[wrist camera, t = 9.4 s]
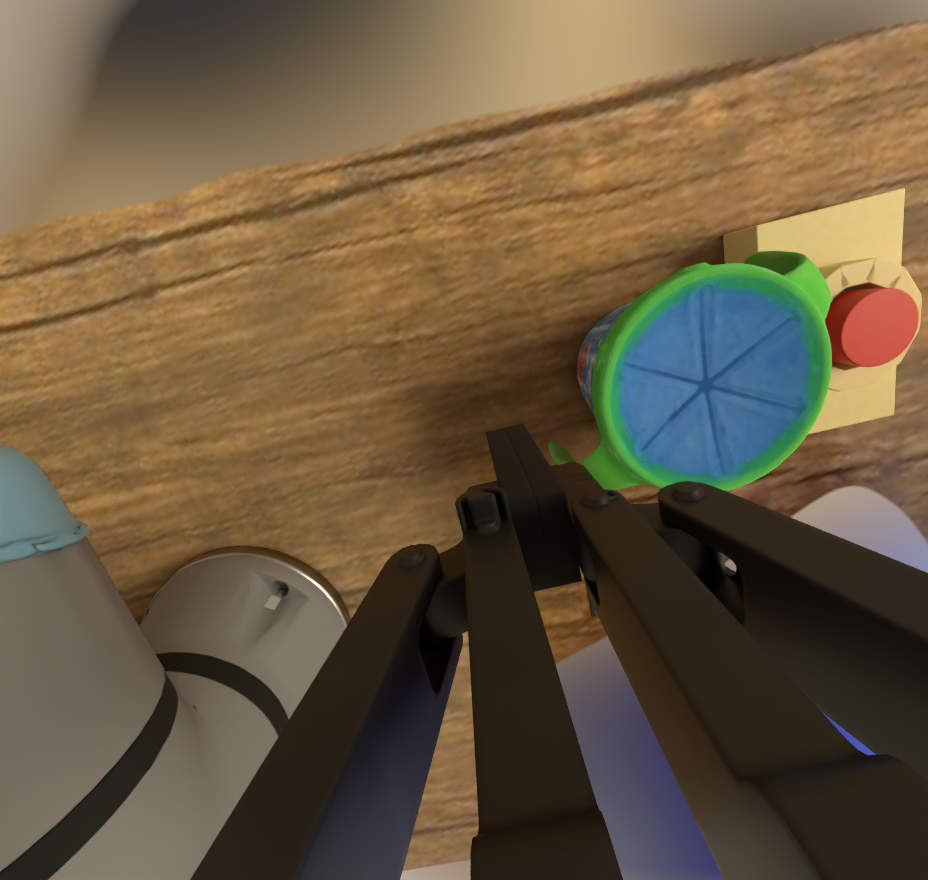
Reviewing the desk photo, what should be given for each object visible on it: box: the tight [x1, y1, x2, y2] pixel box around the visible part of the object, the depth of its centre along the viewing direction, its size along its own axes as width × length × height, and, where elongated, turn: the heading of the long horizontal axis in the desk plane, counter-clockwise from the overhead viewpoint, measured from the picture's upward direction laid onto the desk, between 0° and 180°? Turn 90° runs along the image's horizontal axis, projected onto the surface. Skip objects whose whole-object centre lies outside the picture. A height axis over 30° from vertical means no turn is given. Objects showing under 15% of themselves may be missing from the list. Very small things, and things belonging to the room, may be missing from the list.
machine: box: [723, 188, 922, 434], centre depth 26 cm, size 13×8×5 cm, turn 13°
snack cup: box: [548, 251, 833, 491], centre depth 24 cm, size 16×10×10 cm
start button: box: [825, 288, 919, 367], centre depth 23 cm, size 4×4×2 cm
